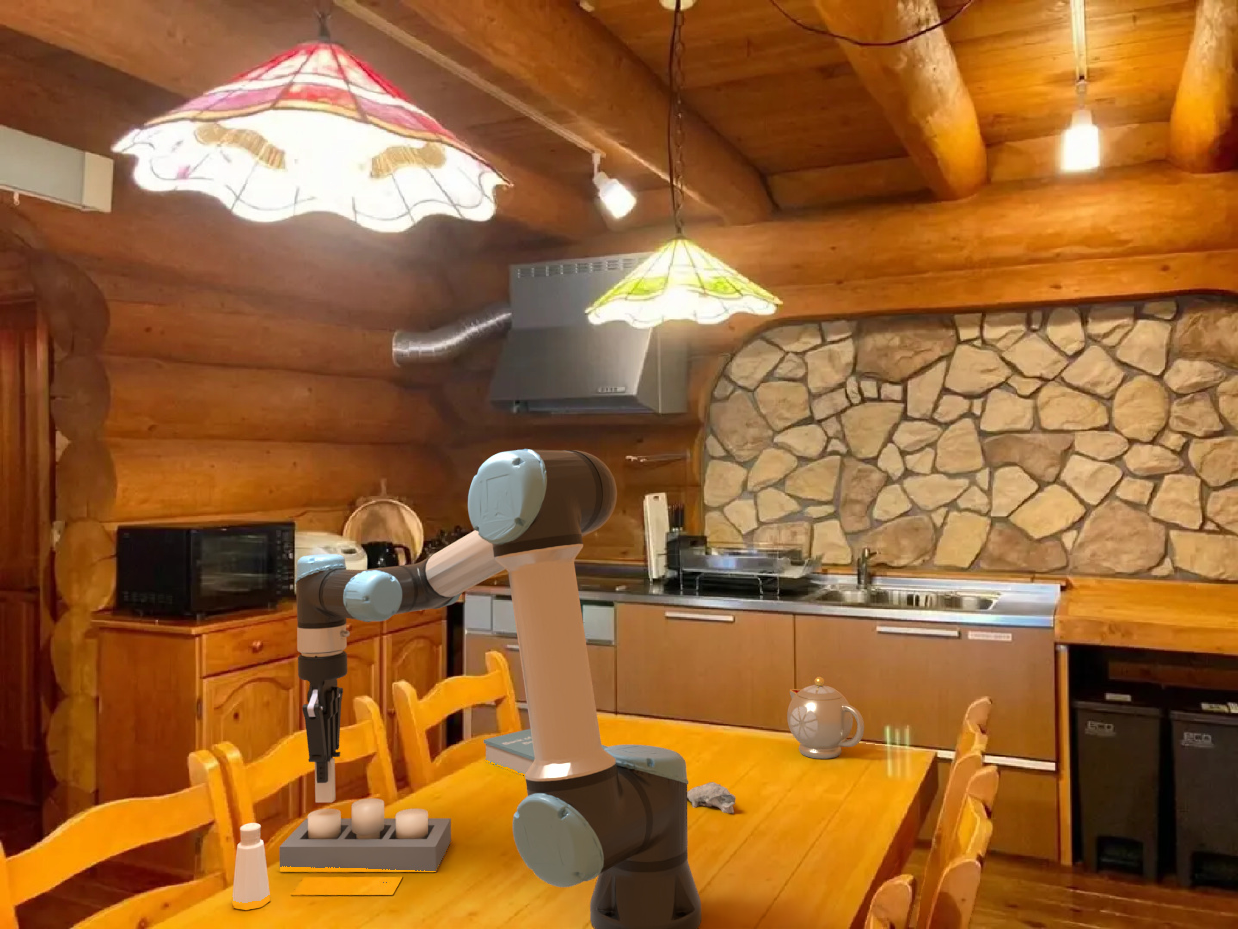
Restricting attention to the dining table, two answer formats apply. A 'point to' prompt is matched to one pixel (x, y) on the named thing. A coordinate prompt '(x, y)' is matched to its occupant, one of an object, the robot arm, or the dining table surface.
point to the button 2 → (412, 824)
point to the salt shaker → (250, 866)
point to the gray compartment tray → (368, 848)
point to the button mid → (368, 818)
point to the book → (512, 750)
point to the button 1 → (324, 824)
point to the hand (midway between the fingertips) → (325, 800)
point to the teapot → (822, 720)
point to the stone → (712, 797)
